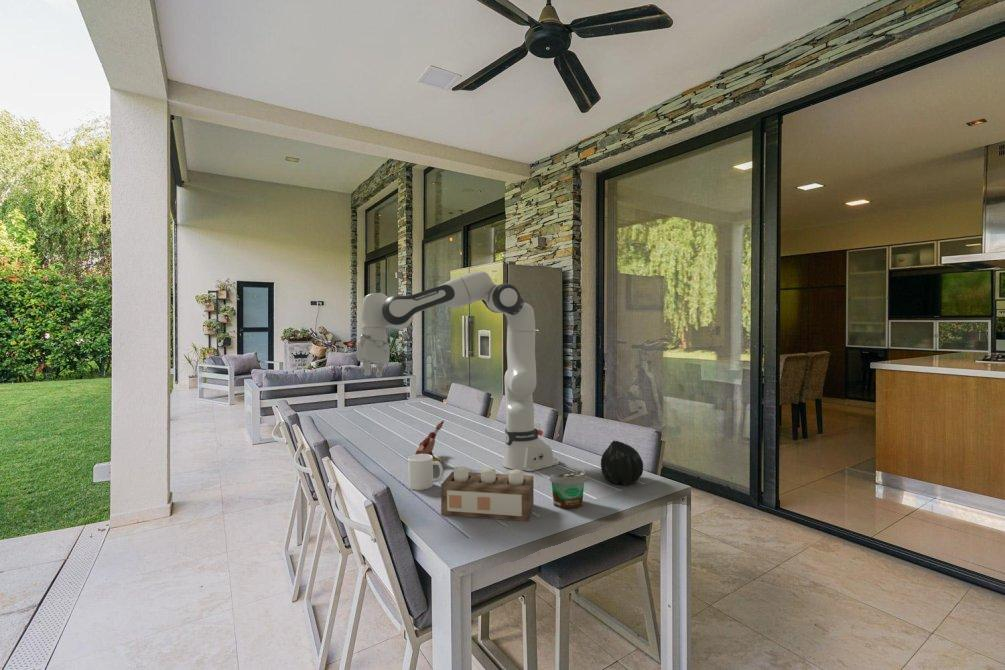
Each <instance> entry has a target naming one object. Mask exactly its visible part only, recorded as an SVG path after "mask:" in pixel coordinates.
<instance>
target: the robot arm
mask: <svg viewBox="0 0 1005 670" xmlns="http://www.w3.org/2000/svg"><path fill="white" fill-rule="evenodd" d="M479 301H482V303H483V305H485V307H486V308H487V309H488V310H489V311H490V312H492V313H495V314H496V313H497V314H504V315H505V316H506V321H507V325H506V326H507V328H506V329H507V330H506V336H507V337H506V358H507V359H506V360H507V363H506V365H507V370H506V371H505V374H504V378H503V379H504V381H503V382H504V397H505V419H506V420H505V422H506V423H505V426H506V427H505V429H504V432H505V433H504V441H505V450H504V455H503V456H504V457H503V460H502V464H501V465H502V466H503V467H504V468H506V469H507V468H508V469H510V470H514V469H518V470H522V471H527V472H533V471H537V470H541V469H545V468H549V467H553V465H554V466H558V465H560V463H559V459H558V458H556V457H555V456H554V455H553V449H552V447H551V446H550V444H549V443H546V442H545V441H544V440H543V439H541V438H540V437H539V436H543V435H544V432H543V430H541V429H537V428H535V407H534V399H533V393H534V392H535V390H536V387H537V383H538V382H537V363H536V317H535V310H534V308H533V306H532V305H531V304H529V303H527V302H524V300H523V297H522V296H521V294H520V290H519V289H518V288H517V287H516V286H515V285H513V284H510V283H498V284H495V283H494V282H493V280H492V278H491V276H490V275H489V274H488V273H487V272H486V271H482V270H478V271H474V272H469V273H465V274H462V275H459V276H457V277H455V278H453V279H450V280H448V281H445V282H443V284H440V285H437V286H435V287H433V288H429V289H426V290H423V291H420V292H417V293H413V294H411V295H391V296H390V297H389V296H387V295H386V294H385V293H384V292H383V293H382V292H372V293H369V294H367V295H365V296H364V297H363V300H362V304H361V317H360V318H361V320H362V321H361V322H362V324H361V327H360V337H359V340H358V341H357V347H356V359H357V361H358V362H362V368H363V371H364V374H363V375H365V376H372V370H371V368H370V367H371V366H370V365H376V372H375V377H376V378H381V377H382V376H383V375H382V374H383V371H384V366H388V365H389V364H390V363H389V362H390V356H391V355H390V354H391V352H390V351H391V348H390V345H391V344H392V339H391V338H390V337H389V335H388V333H387V330H388V329H387V328H390V329H395V330H405V329H406V328H408V327H409V326H411V324H412V322H413V318H414V315H416V314H418V313H420V312H423V311H426V310H429V309H431V308H434V307H438V306H444V307H448V308H450V309H457V308H462V307H465V306H468V305H470V304H473V303H475V302H479Z"/></svg>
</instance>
